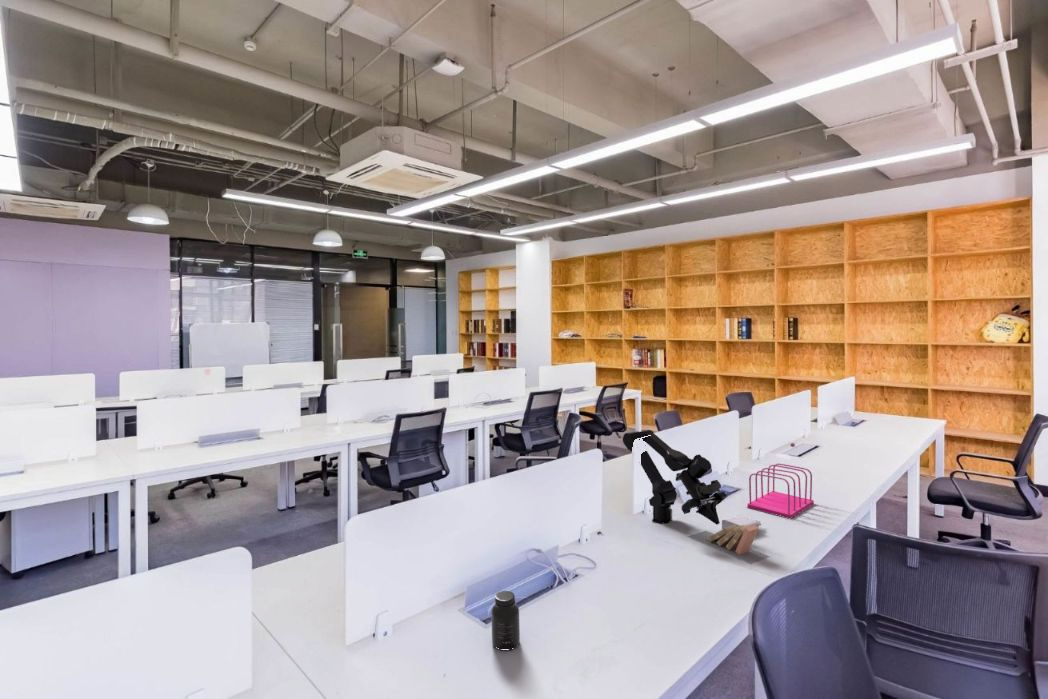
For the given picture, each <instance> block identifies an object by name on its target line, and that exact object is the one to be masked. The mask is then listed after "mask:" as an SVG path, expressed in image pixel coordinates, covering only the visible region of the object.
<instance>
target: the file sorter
mask: <svg viewBox="0 0 1048 699" xmlns="http://www.w3.org/2000/svg"><path fill="white" fill-rule="evenodd" d="M772 467H773V468H772ZM776 467H779V468H783V469H785V470H783V469H777V468H776ZM786 469H789V470H786ZM766 470H767V471H766ZM790 470H794V471H790ZM804 470H806V471H807V472H808V474H810V476H809V478H810V480H809V481H810V483H809V484H810V485H809V498H807V493H808V492H807V491H808V475H807V473H806V472H805V471H804ZM771 471H772V472H771ZM777 471H778V472H777ZM795 471H798V472H801V473H802V474H804V477H805V483H804V484H805V487H804V497H802V495H801V493H802V492H801V489H802V488H801V477H800V475H799V474H798V473H797V472H795ZM779 472H783V473H790V474H793V475H796V477H797V478H798V496H796V479H794V478H793V477H792V476H791V475H787V474H783V473H779ZM763 473H765V474H763ZM771 474H772V475H771ZM775 475H777V476H775ZM753 476H755V482H754V483H755V499H754V500H753V501H752V477H753ZM758 476H760V488H761V489H760V490H761V491H760V493H761V496H760V497H758ZM779 476H782V477H779ZM763 477H766V478H767V493H765V494H764V484H763ZM783 477H788V478H790V479H791V480H792V482H793V495H791V494H790V492H791V491H790V489H791V488H790V484H789V481H788V480H787V479H786V478H783ZM770 478H772V491H770ZM775 479H777V480H783V481H784V482H785V483H786V485H787V493H783V492H778V491H776V490H775ZM748 485H749V486H748V488H749V489H748V491H749V493H748V494H749V503H747V505H746V506H747V507H746V508H748V509H752V510H755V509H756V510H755V511H759V510H760V511H759V512H763V511H764V512H763V513H767V512H768V513H767V514H770V513H773V514H772V515H774V514H777V515H776V516H778V515H781V516H780V517H782V516H784V517H783V518H786V517H788V518H787V519H789V518H791V517H792V518H794V517H795V516H794V515H796V514H797V515H799V514H800V513H801V511H802V510H803V511H805V510H806V509H805V508H807V507H808V508H810V507H811V506H813V505H815V504H814V502H815V501H814V500H813V499H812V496H813V493H812V491H813V474H812V471H811V470H810V469H808V468H806V467H800V466H796V465H791V464H785V463H775V464H770V465H769V466H768V467H763V468H762V470H758V471H756V473H755V472H754V473H751V474H749V478H748ZM812 504H813V505H812ZM810 505H811V506H810ZM809 506H810V507H809ZM808 508H807V509H808ZM804 509H805V510H804ZM803 511H802V512H803ZM799 512H800V513H799ZM798 513H799V514H798ZM797 515H796V516H797ZM793 516H794V517H793ZM792 518H791V519H792Z"/></svg>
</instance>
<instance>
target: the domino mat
mask: <svg viewBox="0 0 1048 699" xmlns="http://www.w3.org/2000/svg"><path fill="white" fill-rule="evenodd" d="M714 534H715V533H713V532H711V531H708V530H704V531H700V532H696V533H694V534H690V535H687V536H686V537H687V538H690V539H691V540H695V541H696V542H699V543H701V544H704V545H705V546H708V547H710V548H712V549H715V550H717V551H719V552H721V553H724V554H726V555H729V556H731V557H734V558H736V559H738V560H740V561H743V562H745V563H747V564H750V565H752V564H755V563H757V562H760V561H763V560H764V559H768V558H771V556H770V555H767V554H766V553H764V552H763V553H762V552H760V551H757V550H755V549H752V548H750V549H749V551H748V552H746V553H743V554H740V555H739V554H737V553H736V552H735V551H736V549H737V548H735V549H732V550H728V549H727V548H726V546H727V544H725V545H722V546H719V545H718V544H717V541H719V540H720V539H718V540H716V541H713V542H709V540H708V537H710V536H712V535H714Z"/></svg>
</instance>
